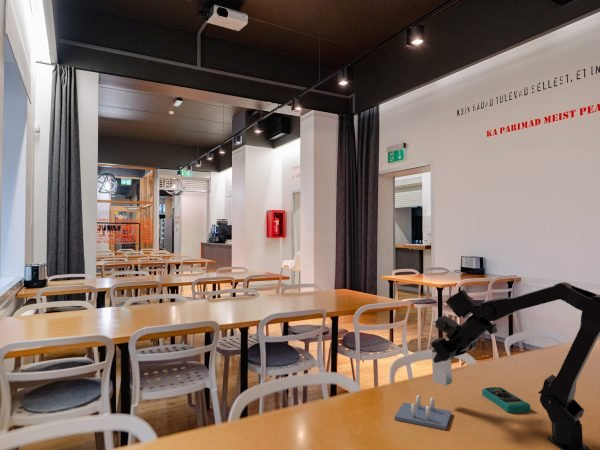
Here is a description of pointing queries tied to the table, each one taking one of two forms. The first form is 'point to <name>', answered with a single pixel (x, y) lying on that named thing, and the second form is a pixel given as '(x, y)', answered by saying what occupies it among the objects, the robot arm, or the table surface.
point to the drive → (441, 371)
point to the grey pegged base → (423, 414)
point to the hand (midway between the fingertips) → (437, 360)
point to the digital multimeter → (506, 400)
